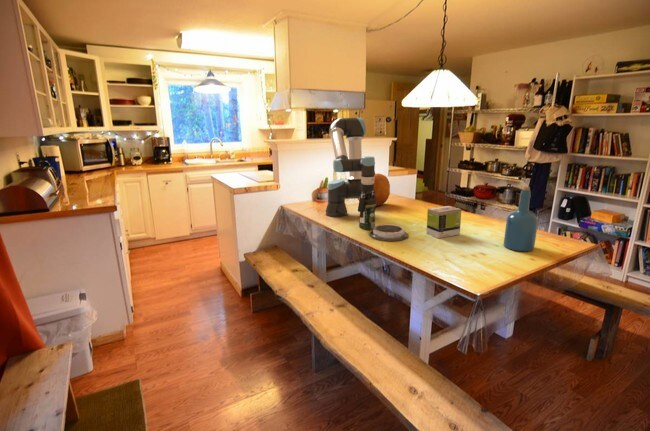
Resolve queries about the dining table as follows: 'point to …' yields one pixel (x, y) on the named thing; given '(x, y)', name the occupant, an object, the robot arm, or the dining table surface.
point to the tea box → (443, 221)
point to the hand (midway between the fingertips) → (367, 220)
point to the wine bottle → (521, 225)
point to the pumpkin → (381, 188)
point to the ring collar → (388, 233)
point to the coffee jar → (369, 214)
